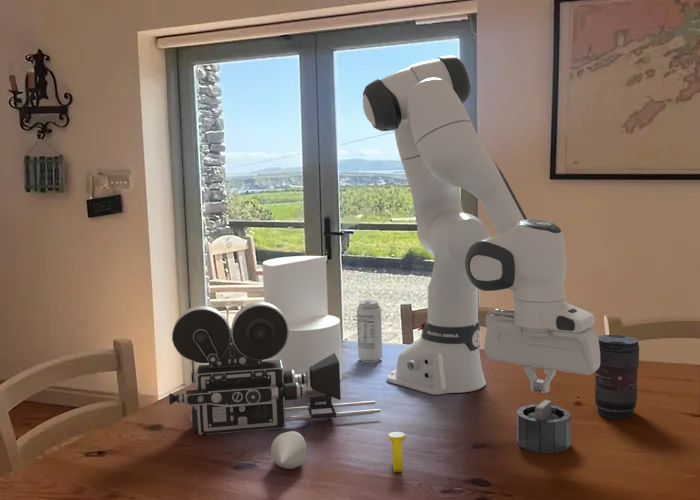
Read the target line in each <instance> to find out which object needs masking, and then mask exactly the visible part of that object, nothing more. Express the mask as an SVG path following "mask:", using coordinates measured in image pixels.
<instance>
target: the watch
mask: <svg viewBox="0 0 700 500" xmlns="http://www.w3.org/2000/svg"><path fill="white" fill-rule="evenodd" d="M387 437H388V440H390V441H391V449H392V451H391V453H392V455H391V456H392V467H393V472H394V473H403V466H404V465H403V464H404V463H403V445H402V444H403V441H404V440H406V434H405V433H404V432H402V431H393V432H389V433H388V436H387Z"/></svg>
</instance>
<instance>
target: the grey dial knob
mask: <svg viewBox="0 0 700 500" xmlns="http://www.w3.org/2000/svg"><path fill="white" fill-rule="evenodd" d="M551 405H552V400H548V399H544V400H542V401H541V402H540V403H539V405H538V406H537V407H535V412H533V413H530V414H528V415H527V416H528V417H530V418H533V419H538V420H555V419H560V418H559V417H558V416H557V415H555V414H552V413H551Z"/></svg>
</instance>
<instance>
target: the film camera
mask: <svg viewBox="0 0 700 500" xmlns="http://www.w3.org/2000/svg"><path fill="white" fill-rule="evenodd" d="M288 334H289V329H288V324H287V321H286V318H285V316H284V315H283V313H282V312H281V311H280V310H279V309H278V308H277V307H276V306H274V305H272V304H270V303H266V302H264V301H254V302H251V303H248V304H246V305H245V306H243V307H241V308H240V309H239V310H238V311H237V312H236V314H235V315H234V318H233V319H232V323H231V326H230V324H229V321H228V319H227V318H226V316H225V315H224V314H223V313H222V312H220V311H219V310H218V309H216V308H214V307H211V306H207V305H200V306H199V305H198V306H193V307H190V308H188V309H187V310H185V311H183V312H182V313H181V314H180V315H179V317H178V318H177V319H176V321H175V323H174V326H173V328H172V332H171V341H172V343H173V346H174V348H175V350H176V351H177V352H178V354H179V355H180V356H181V357H183V358H185V359H187V360H189V361H192V362H195V363H198V365H197V366H196V368H195V372H194V373H193V372H191V383H192V384H193V383H195V387H194V386H193V389H189V390H186V392H183V393H176V395H175V394H173V393H171V392H169V394H168V398H169V399H168V402H169V405H170V406H171V405H172V404H174V403H177V404H183V403H184V404H186V407H191V412H190V414H189V415H190V419H189V421H190V424H192V429H193V430H195V431H196V432H198V435H200V436H203V435H202V434H207V435H214V434H213V433H219V434H229V433H238V432H239V433H241V432H251V431H253V430H254V431H262V430H273V429H276V428H277V429H285V428H286V426H287V425H286V421H293V420H295V421H296V420H306V419H310V420H313V419H321V418H322V419H323V418H324V419H325V418H337V417H342V416H344V417H345V416H353V415H354V416H355V415H365V414H378V413H381V409H380V408H378V409H377V408H375V409H365V410H364V409H363V410H352V411H351V410H350V411H342V412H341V411H340V412H339V411H338V412H337V411H336V409H335V408H345V407H357V406H369V405H376V400H371V401H370V400H368V401H358V402H356V401H355V402H345V403H344V402H343V403H332V402H333V401H332V398H334V399H336V400H339V401H341V381H340V366H339V360H338V359H337V357H336V355H335V353H333V354H332V355H330V356H328V357H326V358H325V359H323V360H321V361H319V362H318V363H316V364H314V365H312V366H311V367H310V372H309V380H308V376H307V375H308V374H307V370H306V374H298V375H295V374H294V370H289V371H284V375H283V367H282V363H281V360H280V359H278V360H267V359H269V358H272V357H274V356H275V355H277V354H278V353H279V352H280V351H281V350H282V349H283V348H284V346H285V344H286V342H287V340H288ZM308 381H310V391H308V389H307V391H305V388H304V385H299V384H307V386H308ZM311 388H312V390H313V391H315V392H318V393H321V394H322V395H320V394H319V395H312V391H311ZM308 393H309V395H308ZM305 396H306V399H307V400H309V403H307V406H296V407H295V406H293V407H285V406H286V405H285V401H296V400H300V397H305ZM324 409H325V410H326V409H330V410H331V412H326V413H323V412H322V413H313V411H315V410H324ZM312 410H313V411H312ZM297 411H308V413H309V414H305V415H303V414H302V415H292V416H286V412H297Z"/></svg>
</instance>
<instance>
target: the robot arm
mask: <svg viewBox="0 0 700 500" xmlns="http://www.w3.org/2000/svg"><path fill="white" fill-rule="evenodd" d="M471 90H472V89H471V78H470V75H469V72H468V70H467V68H466V66H465V65H464V62H463V61H462V60H461V59H459V58H458V57H457V56H455V55H445V56H443V55H442V56H439V57H437V58H436V59H432V60H431V59H430V60H427V61H422V62H419V63H415V64H412V65H409V66H407V68H406V67H405V68H404V69H401V70H398V71H395V72H393V73H391V74H389V75H387V76H385V77H382V78H377V79H375V80H373V81H372V82H370V83H369V84H367V85H366V86H365V88H364V90H363V92H362V107H363V112H364V115H365V117H366V118H367V121H369V123H370V124H371V126H372V127H373V128H374V129H376V130H377V131H380V132H392V131H393V132H394V138H395V142H396V146H397V149H398V153H399V154H398V155H399V158H400V161H401V165H402V167H403V171H404V174H405V176H406V180H407V183H408V186H409V188H410V193H411V196H412V203H413V209H414V218H415V221H416V222H415V223H416V227H417V230H416V232H417V234H416V235H417V239H418V241H419V243H420V244H421V246H422V247H423V248H424V250H425V251H426V252H427V253H429V254H430V255H432V256H433V267H432V273H431V278H430V281H429V283H428V285H427V320H426V321H424V322H422V324H419V325H417V327H418V328H417V331H421V335H420V337H419V338H418V339H415V341H413V342H412V343H410V345H408V346H406V348H404V349H403V350H401V352H400V353H399V354H398V357H397V362H396V368H395V369H393V370H392V371H391V372H389V373H388V374H387V376H386V382H389V383H391V384H394V385H399V386H400V387H401V386H402V387H405V388H408V389H412V390H415V391H419V392H422V393H427V394H430V395H435V396H436V395H444V394H454V393H455V394H456V393H467V392H468V393H469V392H473V391H474V392H475V391H478V390H480V389H482V388H483V387H485V385H486V383H487V382H486V379H485V376H484V372H483V368H482V361H481V357H480V356H481V355H480V345H481V327H480V326H481V323H480V321H479V320H478V319H479V317H478V316H479V313H478V312H479V310H478V309H479V306H478V304H479V290H480V291H483V292H498V291H502V290H510V291H512V293H513V310H507V309H506V310H503V309H500V308H499V309H498V308H494V309H493V310H491V311H489V312H488V313H487V314H486V316H485V328H486V333H485V338H484V339H485V340H484V354H485V355H484V356H486V358H487V360H489V361H495V362H499V363H501V362H502V363H508V364H515V365H520V366H523V371H524V374H525V375H526V377H527V379H528V381H530V387H529V388H530V391H533V392H540V393H546V394H547V393H549V392H550V391H551V381H552V380H553V378H554V377H555V375H556V374H557V371H559V372H565V373H572V374H577V375H578V374H579V375H585V376H591V375H592V374H594V373H596V370H597V369H598V368H599V367H600V347H599V340H598V336H599V335H598V334H597V332H596V331H595V329H593V328H592V327H593V325H594V324H595V318H596V317H595V315H594V314H593V313H592V312H590V311H587V310H586V309H585V310H584V309H582V308H580V307H579V306H578V307H577V306H576V305H573V304H572V303H569V302H567V293H566V290H565V279H566V275H567V252H566V242H565V236H564V234H563V231H562V229H561V228H560V226H558V225H556V224H555V223H553V222H551V221H548V220H546V221H545V220H542V219H528V217H527V216H526V214H525V212H524V210H523V209H522V206H521V204H520V203H519V201H518V199H517V197H516V196H515V193H514V192H513V190H512V188H511V186H510V184H509V182H508V180H507V178H506V177H505V176H504V173H503V172H502V170H501V169H500V167H499V166H498V164H497V163H496V162H495V160H494V159H493V158H492V157H491V155H490V154H489V153H488V151H487V150H486V148H485V147H484V145H483V143H482V141H481V140H480V138H479V135H478V134H477V131H476V129H475V128H474V124H473V123H472V120H471V118H470V116H469V113H468V112H467V110H466V108H465V106H464V104H465V103H466V102H467V100H468V98H469V96H470V95H471ZM460 189H463V190H464V191H467V192H468V193H470V194H471V195H472V196H474V197H475V198H476V199H478V201H479V202H480V203H481V205H482V206H483V209H484V210H485V213H486V215H487V216H488V218H489V220H490V222H491V224H492V226H493V227H494V229H495V232H496V234H497V235H493V236H491V235H490V231H489V229H488V228H487V226H486V225H485V224H484V223H483V221H481V220H480V219H479V218H478V217H477V216H475V215H473V214H471V213H467V212H464V210H463V207H462V201H461V191H460ZM537 368H538V369H539V368H540V369H543V374H544V375H545V378H544V379H541V378H538V376H537V373H536V372H535V370H536V369H537Z"/></svg>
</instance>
